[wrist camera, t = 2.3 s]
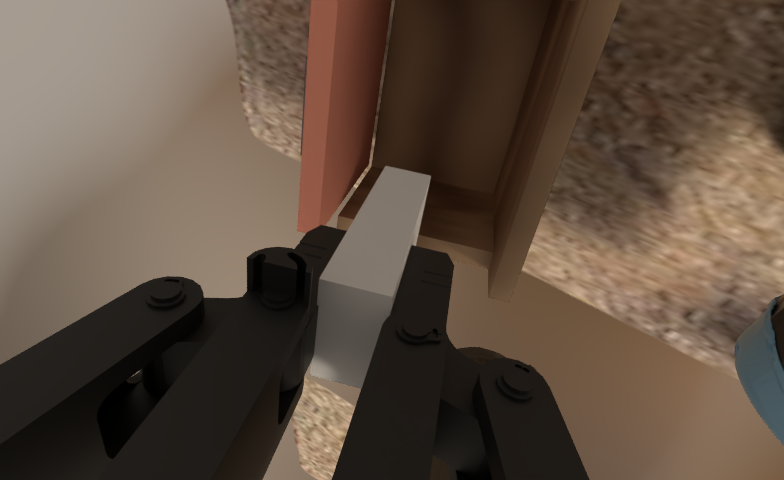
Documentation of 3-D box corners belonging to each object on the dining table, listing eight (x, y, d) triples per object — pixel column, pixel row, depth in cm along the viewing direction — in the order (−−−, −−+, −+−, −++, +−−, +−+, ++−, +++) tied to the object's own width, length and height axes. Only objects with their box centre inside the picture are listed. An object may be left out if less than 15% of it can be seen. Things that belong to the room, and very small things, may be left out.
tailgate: (398, -31, 29) (341, -43, 18) (370, 164, 36) (317, 240, 25) (373, -36, 30) (302, -50, 19) (350, 159, 36) (288, 233, 25)
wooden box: (560, -19, 35) (631, -26, 17) (502, 171, 43) (509, 302, 25) (422, -44, 36) (351, -76, 18) (391, 147, 44) (321, 256, 26)
